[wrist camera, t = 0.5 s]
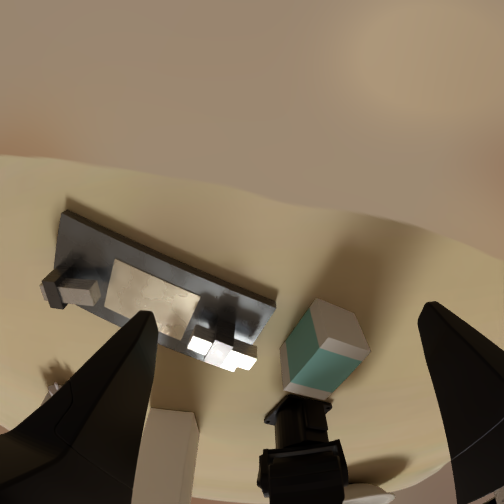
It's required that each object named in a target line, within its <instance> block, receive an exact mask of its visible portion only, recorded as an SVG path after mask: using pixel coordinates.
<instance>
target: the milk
mask: <svg viewBox="0 0 504 504" xmlns="http://www.w3.org/2000/svg"><path fill="white" fill-rule="evenodd" d="M199 435H200V434H199V430H198V427H197V423H196V419H195V416H194V413H193V412H183V411H173V410H164V409H156V408H150V411H149V414H148V418H147V421H146V425H145V428H144V432H143V436H142V439H141V443H140V449H139V455H138V460H137V466H136V473H135V479H134V486H133V494H132V501H131V504H190V503H191V495H192V487H193V479H194V472H195V464H196V457H197V450H198V442H199Z"/></svg>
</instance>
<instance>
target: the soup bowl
mask: <svg viewBox="0 0 504 504" xmlns="http://www.w3.org/2000/svg"><path fill="white" fill-rule="evenodd" d="M344 493H345V499H344V501H343V503H342V504H388V503H390V502H391V501H392V500H393V499H394V498H395V494H393V493H387V492H386V491H384V490H383V489H382V488H380V487H378V486H375V485H372V484H365V483H358V484H348V486H347V487H344Z"/></svg>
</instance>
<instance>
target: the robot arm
mask: <svg viewBox="0 0 504 504" xmlns="http://www.w3.org/2000/svg"><path fill="white" fill-rule="evenodd" d="M418 329H419V333H420V337H421V341H422V345H423V350H424V355H425V359H426V363H427V366H428V370H429V373H430V376H431V379H432V383H433V386H434V390H435V393H436V397H437V401H438V404H439V408H440V412H441V416H442V420H443V424H444V429H445V433H446V438H447V442H448V447H449V452H450V458H451V464H452V470H453V475H454V482H455V490H456V498H457V504H468V503H470V502H473V501H475V500H477V499H479V498H482V497H484V496H486V495H488V494H490V493H492V492H494V495H495V496H494V497H493V498H491V499H490V500H488V501H487V502H485V503H483V504H504V351H503V350H502V349H501V348H499V347H498V346H497V345H495V344H494V343H493V342H492V341H490V340H489V339H488V338H486V337H485V336H484V335H482V334H481V333H480V332H478V331H477V330H476V329H474V328H473V327H472V326H470V325H469V324H468V323H466V322H465V321H463V320H462V319H461V318H459V317H458V316H456V315H455V314H454V313H452V312H451V311H450V310H448V309H447V308H445V307H444V306H442V305H441V304H440V303H438V302H436V301H433V302H427V303H426V304H425V305H424V307H423V309H422V312H421V314H420V316H419V318H418ZM158 336H159V331H158V327H157V323H156V320H155V317H154V314H153V312H152V311H148V310H140V311H138V312H137V313H136V314H135V315H134V316H133V317H132V318H131V319H130V320H129V321H128V322H127V323H126V324H125V325H124V326H123V327H122V328H121V329H120V330H118V331H117V332H116V333H115V334H114V335H113V336H112V337H111V338H110V339H109V340H108V341H107V342H106V343H105V344H104V345H103V346H102V347H101V348H100V349H99V350H98V351H97V352H96V353H95V354H94V355H93V356H92V357H91V358H90V359H89V360H88V361H87V362H86V363H85V364H84V365H83V366H82V367H81V368H80V369H79V370H78V371H77V372H76V373H75V374H74V375H73V376H72V377H71V378H70V380H68V381H67V382H66V383H65V384H64V385H63V386H62V387H61V388H60V389H59V390H58V391H57V392H56V393H55V394H54V395H53V396H52V397H50V398H49V399H48V400H47V401H46V402H45V403H44V404H43V405H41V406H40V407H39V408H38V409H37V410H36V411H34V412H33V413H32V414H31V415H30V416H28V417H27V418H26V419H25V420H24V421H22V422H21V423H20V424H19V425H18V426H17V427H15V428H14V429H12V430H11V431H9V432H7V433H4V434H1V435H0V504H131V501H132V494H133V486H134V479H135V473H136V466H137V460H138V455H139V449H140V443H141V438H142V432H143V427H144V422H145V417H146V412H147V407H148V402H149V397H150V393H151V388H152V384H153V379H154V371H155V362H156V353H157V344H158ZM331 409H332V404H330V403H325V402H321V401H316V400H312V399H308V398H303V397H299V396H295V395H287V396H286V397H285V398H284V399H283V400H282V401H281V402H280V403H279V404H278V405H277V406H276V407H275V408H274V410H273V411H272V412H271V413H270V414H269V415H268V416H267V417H266V418H265V419H264V423H266V424H270V425H275V441H276V449H269V450H268V449H263V454H262V455H261V456H259V473H258V478H257V486H258V487H260V488H261V489H262V492H263V494H264V497H269V499H270V504H342V503H343V501H344V499H345V493H344V487H347V486H348V469H347V464H346V460H345V457H344V453H343V450H342V446H341V443H340V440H339V439H337V440H335V441H330V442H329V440H328V434H327V430H328V426H327V420H326V415H325V414H326V413H327V412H328V411H330V410H331Z"/></svg>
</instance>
